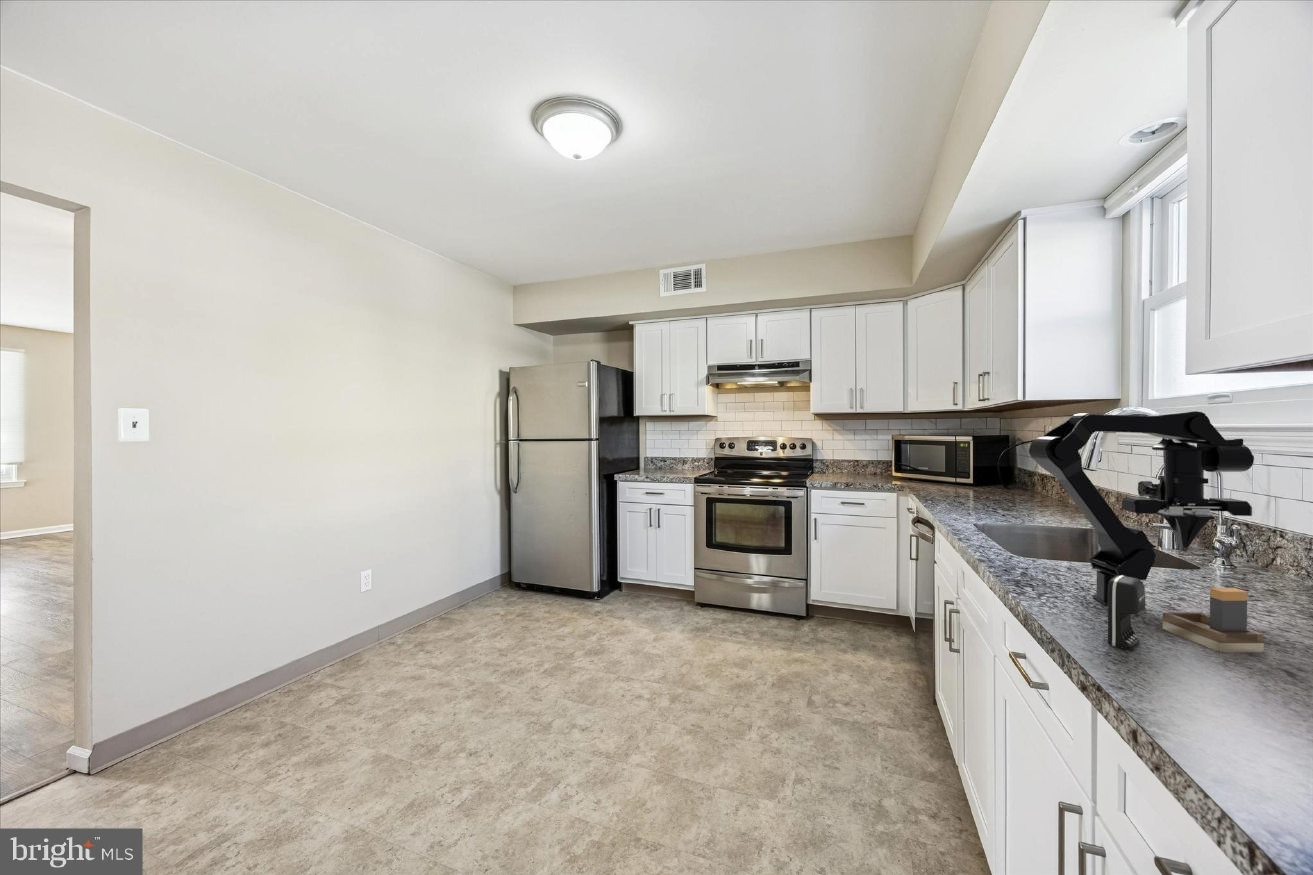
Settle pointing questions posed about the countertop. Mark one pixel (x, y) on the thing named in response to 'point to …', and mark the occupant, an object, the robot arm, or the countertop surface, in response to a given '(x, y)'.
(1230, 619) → the fader lever
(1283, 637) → the countertop surface
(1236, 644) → the tray
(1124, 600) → the battery charger
